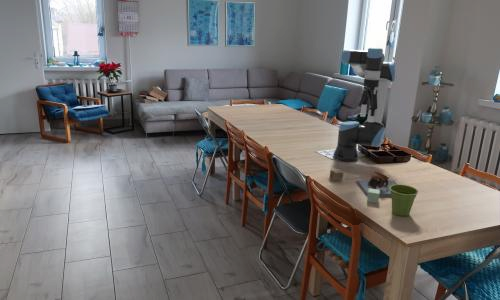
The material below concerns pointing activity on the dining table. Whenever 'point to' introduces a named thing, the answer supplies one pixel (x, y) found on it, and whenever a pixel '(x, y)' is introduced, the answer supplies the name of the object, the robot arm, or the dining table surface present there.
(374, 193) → the sage block
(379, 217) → the dining table surface
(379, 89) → the robot arm
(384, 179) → the pottery mug
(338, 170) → the walnut block
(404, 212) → the plant pot
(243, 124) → the dining table surface
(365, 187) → the slate mat
